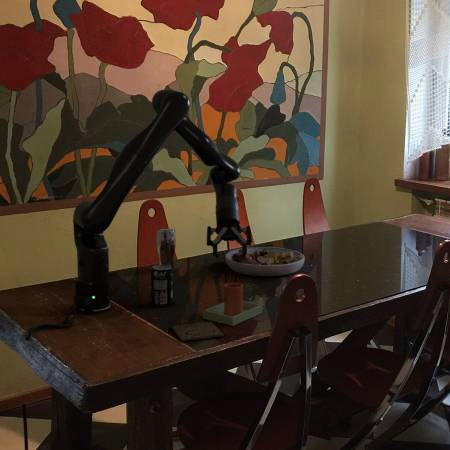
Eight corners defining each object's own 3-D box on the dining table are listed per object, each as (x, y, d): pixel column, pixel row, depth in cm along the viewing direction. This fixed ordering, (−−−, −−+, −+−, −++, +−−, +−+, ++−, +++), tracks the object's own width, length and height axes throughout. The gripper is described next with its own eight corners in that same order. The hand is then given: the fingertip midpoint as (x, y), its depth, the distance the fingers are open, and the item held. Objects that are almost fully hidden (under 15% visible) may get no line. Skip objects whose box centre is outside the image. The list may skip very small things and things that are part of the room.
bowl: (258, 255, 294) (258, 236, 293) (319, 267, 278) (320, 247, 276) (208, 269, 270) (208, 249, 269) (272, 283, 254) (272, 262, 252)
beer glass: (179, 269, 269) (179, 230, 266) (167, 273, 264) (166, 233, 261) (166, 266, 273) (165, 227, 270) (153, 270, 267) (152, 230, 264)
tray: (232, 326, 209) (232, 317, 208) (202, 318, 215) (202, 310, 214) (262, 312, 222) (262, 304, 221) (233, 306, 227) (233, 298, 227)
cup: (235, 318, 214) (235, 289, 213) (220, 314, 217) (220, 285, 216) (246, 313, 219) (246, 284, 217) (231, 309, 222) (231, 281, 220)
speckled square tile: (171, 327, 206) (170, 324, 205) (211, 323, 210) (211, 320, 210) (181, 341, 195) (181, 338, 195) (224, 336, 200) (224, 333, 199)
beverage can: (164, 299, 232) (164, 263, 230) (176, 304, 228) (176, 267, 225) (147, 303, 228) (146, 266, 225) (159, 308, 223) (158, 270, 221)
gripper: (205, 206, 229) (207, 249, 221) (250, 206, 232) (254, 249, 223) (204, 219, 236) (206, 262, 227) (248, 219, 238) (251, 261, 229)
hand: (230, 255), depth 225 cm, fingers open, 8 cm apart
